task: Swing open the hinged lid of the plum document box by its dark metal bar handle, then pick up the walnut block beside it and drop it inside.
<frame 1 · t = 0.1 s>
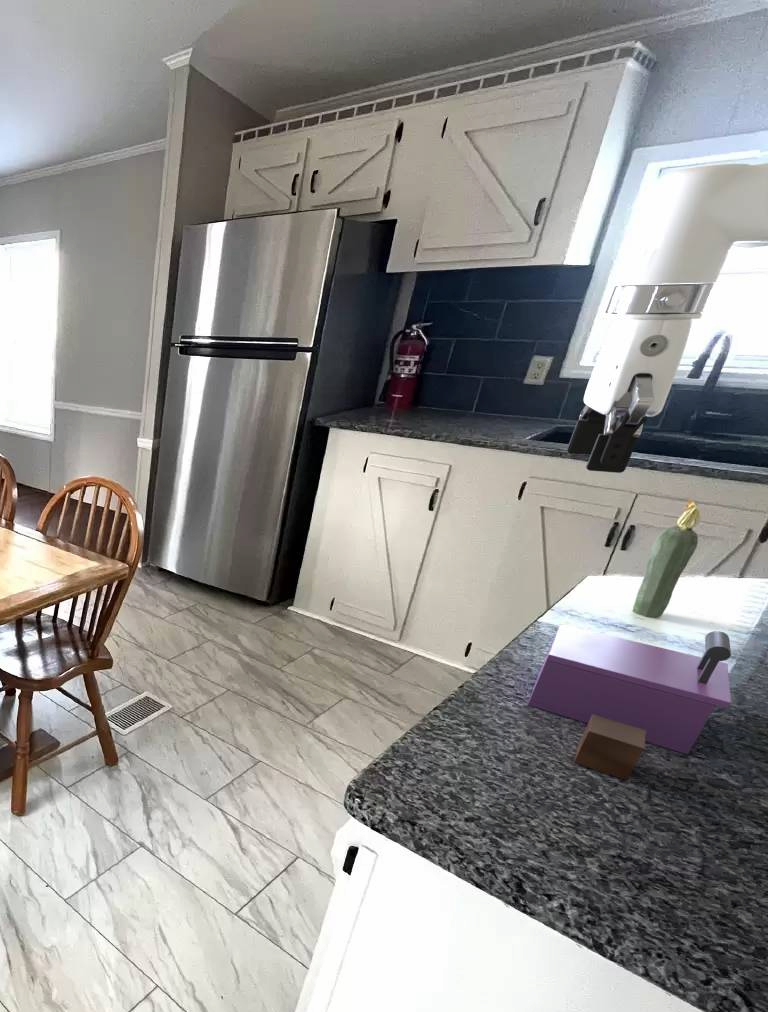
hand: (592, 462, 75), 30 cm above the worktop, tool pointing down, fingers open, 9 cm apart
block: (601, 762, 71), on the worktop
lid: (643, 644, 76), point 10 cm above the worktop, hinge at 0.0°
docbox: (606, 708, 80), on the worktop
vegetable: (636, 625, 100), on the worktop
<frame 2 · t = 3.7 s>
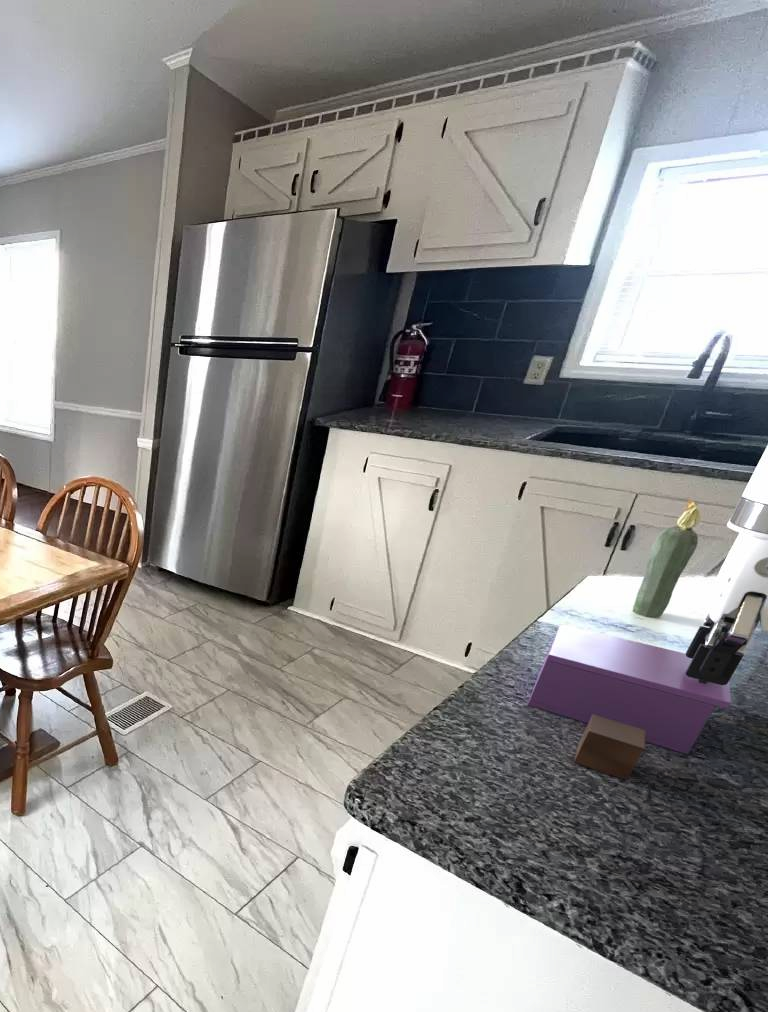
hand: (705, 668, 73), 8 cm above the worktop, tool pointing down, fingers closed on lid, 5 cm apart
lid: (643, 644, 76), point 10 cm above the worktop, hinge at 0.0°, touching gripper
everything else where it was.
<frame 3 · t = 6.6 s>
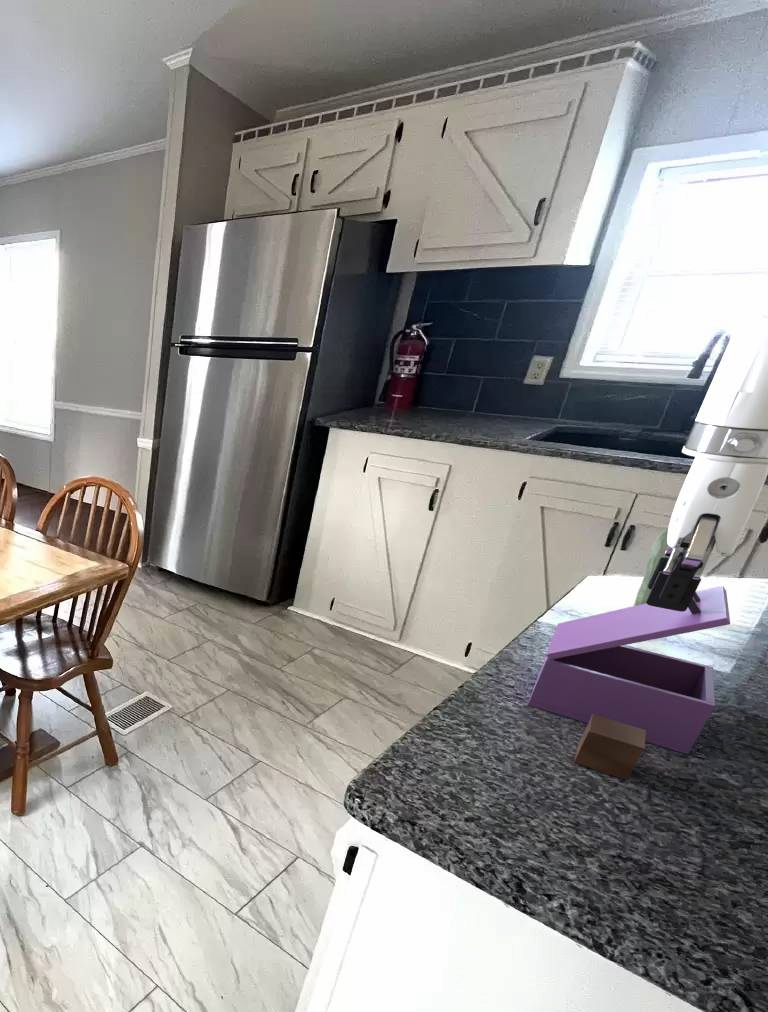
hand: (665, 597, 74), 16 cm above the worktop, tool pointing down, fingers closed on lid, 5 cm apart
lid: (623, 606, 76), point 14 cm above the worktop, hinge at 37.5°, touching gripper
everything else where it was.
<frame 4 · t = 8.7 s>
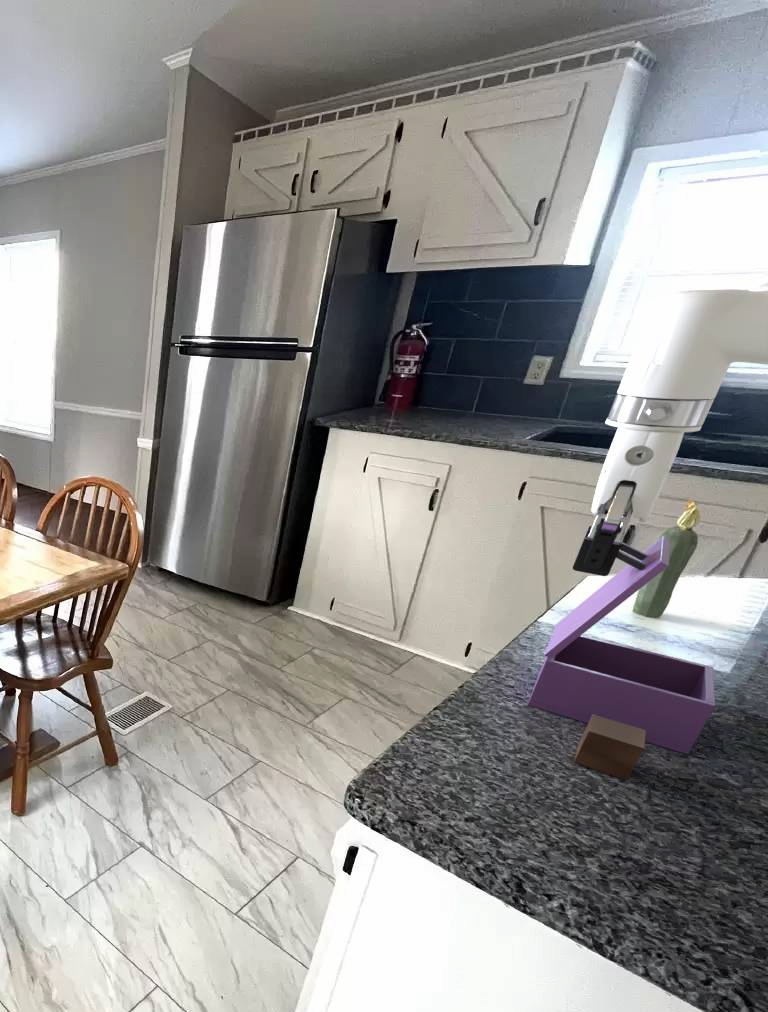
hand: (592, 564, 77), 18 cm above the worktop, tool pointing down, fingers closed on lid, 5 cm apart
lid: (584, 586, 78), point 15 cm above the worktop, hinge at 67.4°, touching gripper
everything else where it was.
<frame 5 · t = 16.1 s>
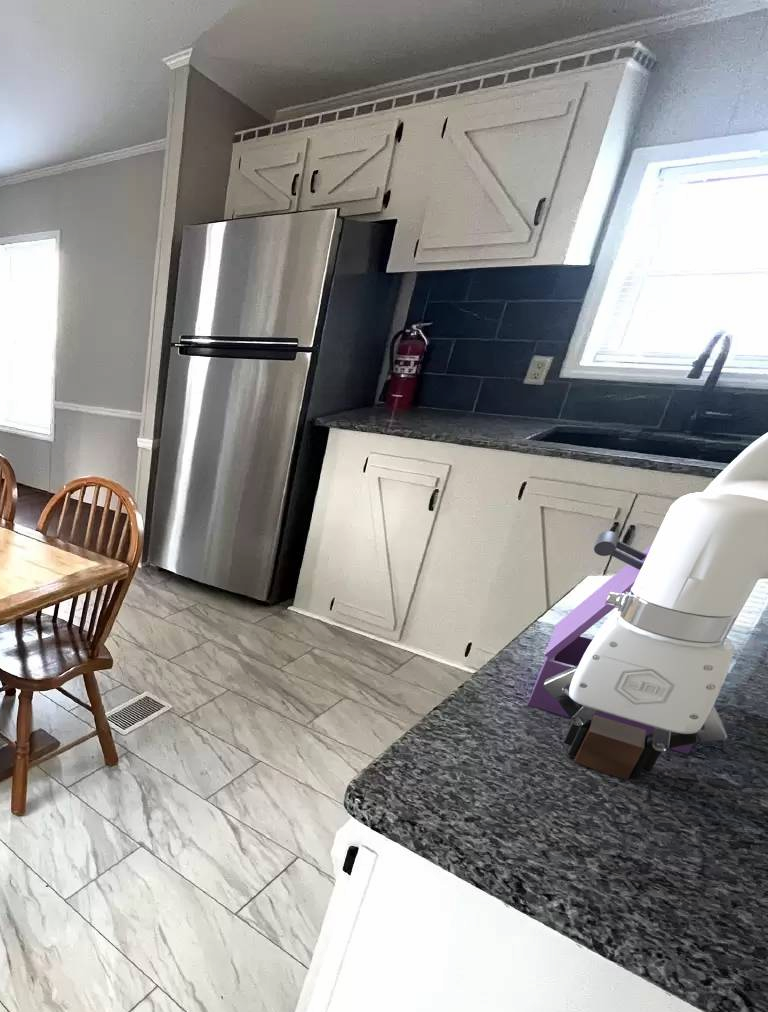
hand: (602, 759, 71), 0 cm above the worktop, tool pointing down, fingers closed on block, 4 cm apart
block: (601, 762, 71), on the worktop, touching gripper
lid: (584, 586, 78), point 15 cm above the worktop, hinge at 67.8°
everything else where it was.
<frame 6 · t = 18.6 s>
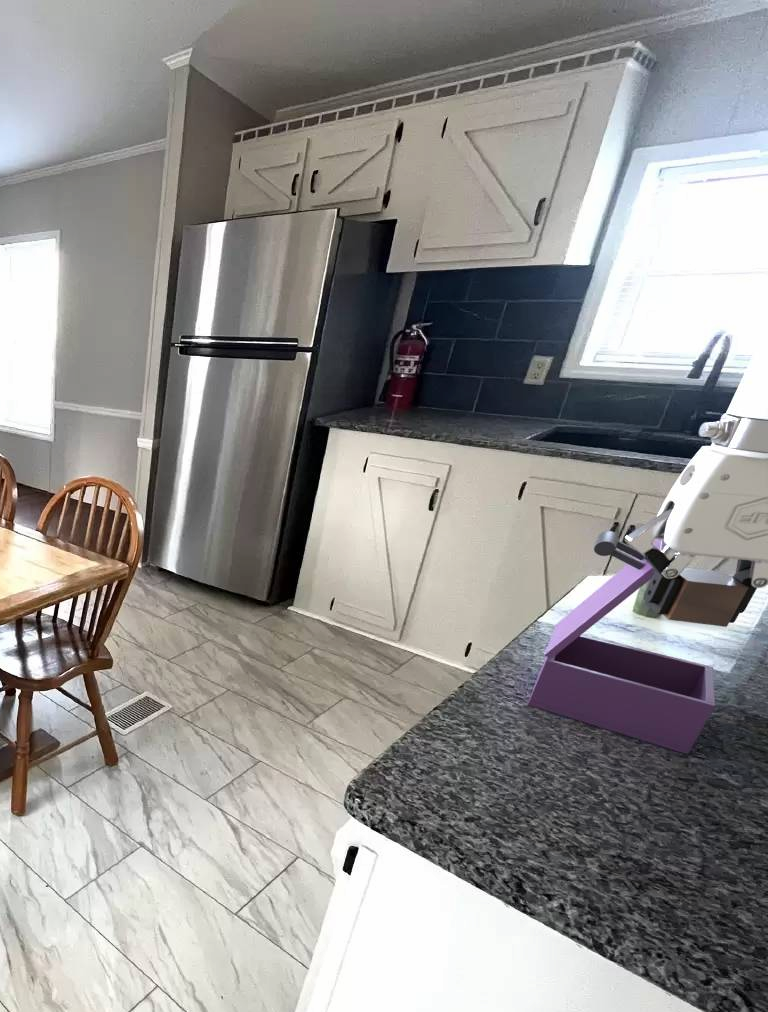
hand: (688, 611, 66), 18 cm above the worktop, tool pointing down, fingers closed on block, 4 cm apart
block: (686, 614, 66), point 17 cm above the worktop, touching gripper
everything else where it was.
when the fingers open (11 cm above the worktop, at t = 21.4 s): block drops 10 cm, resting on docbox.
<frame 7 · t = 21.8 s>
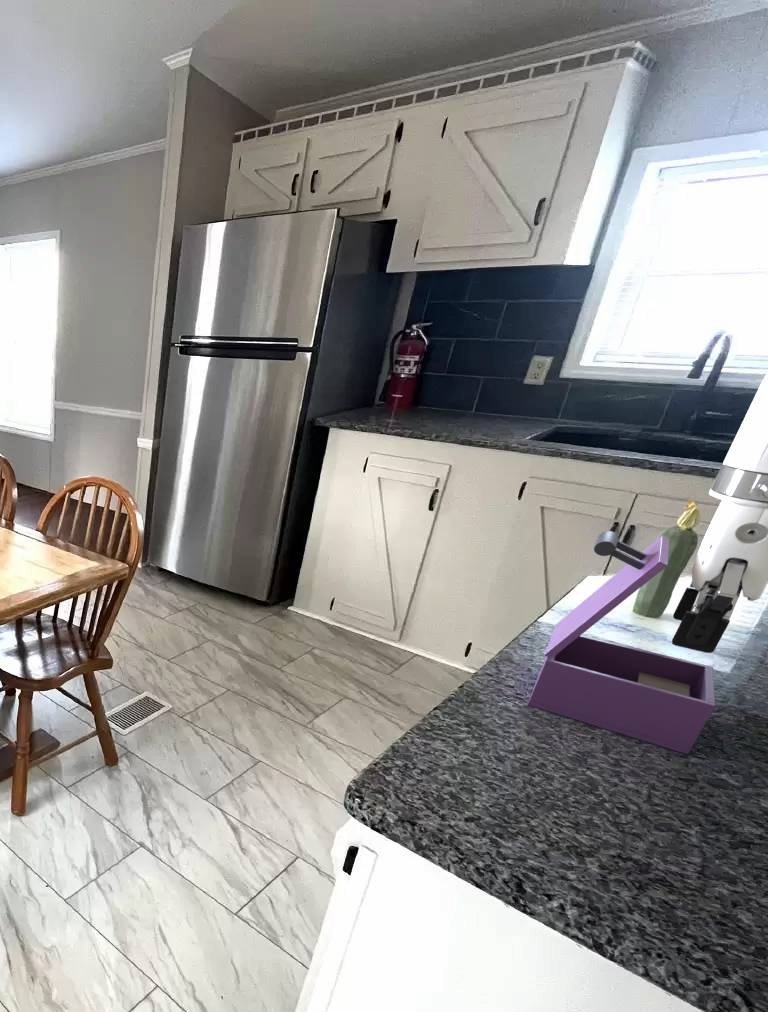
hand: (691, 633, 73), 12 cm above the worktop, tool pointing down, fingers open, 8 cm apart
block: (647, 715, 78), point 1 cm above the worktop, touching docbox
everything else where it was.
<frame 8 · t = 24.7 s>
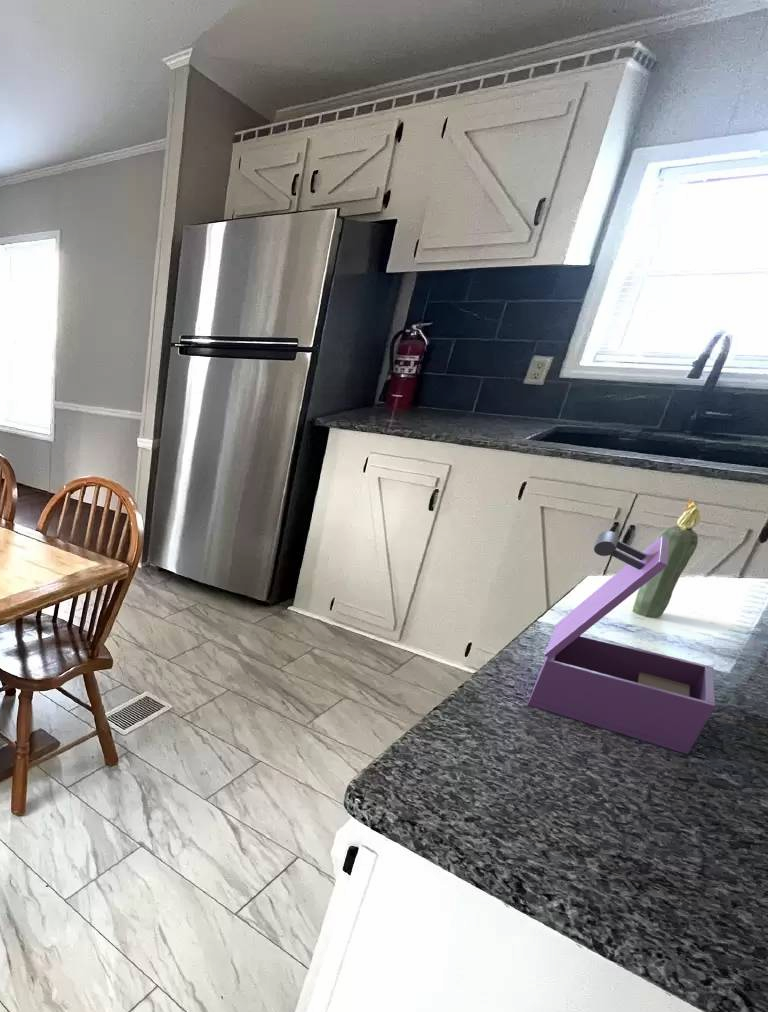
nothing on the worktop moved.
at the end: lid at +68° (first picture: +0°); block inside the target area in the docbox (3.5 cm from its centre), point 0.7 cm above the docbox's base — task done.
